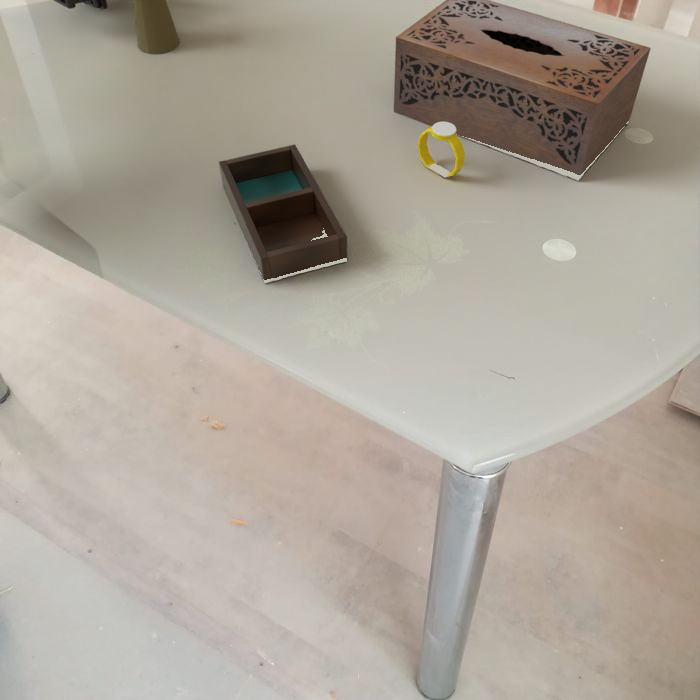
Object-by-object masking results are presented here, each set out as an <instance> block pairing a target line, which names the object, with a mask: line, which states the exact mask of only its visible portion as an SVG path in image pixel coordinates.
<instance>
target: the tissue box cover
mask: <svg viewBox="0 0 700 700" xmlns="http://www.w3.org/2000/svg"><path fill="white" fill-rule="evenodd" d="M394 50H395V52H394V53H395V55H394V58H395V59H394V89H393V90H394V91H393V112H394V113H397V114H399V115H402V116H404V117H407V118H410V119H412V120H415V121H418V122H420V123H423V124H426V125H428V126H430V127H431V126H433V125H434V124H435V123H437V122H449V123H452V124H453V125H454V126H455V127H456V134H457V135H460V136H464V137H467V138H471V139H474V140H476V141H480V142H482V143H485V144H488V145H491V146H494V147H497V148H500V149H503V150H506V151H508V152H509V151H510V152H512V153H516V154H519V155H521V156H524V157H527V158H530V159H535V160H537V161H540V162H543V163H547V164H550V165H552V166H555V167H558V168H562V169H564V170H567V171H570V172H573V173H575V174H577V175H581V174H582V173H583V172H584V171H585V170H586V168H587V167H588V166H589V165H590V164H591V163H592V162H593V161H594V160H595V158H596V157H597V156H598V155H599V154H600V153H601V152H602V151H603V150H604V149H605V147H606V146H607V145H608V144H609V143H610V142H611V141H612V140H613V139H614V137H615V136H616V135H617V134H618V133H619V131H620V130H621V129H622V128H623V127H624V126H625V125H626V123H627V122H628V121H629V122H630V120H631V117H632V113H633V110H634V106H635V103H636V99H637V97H638V93H639V89H640V87H641V83H642V79H643V76H644V73H645V72H644V71H645V68H646V66H647V63H648V58H649V56H650V52H651V47H649V46H646V45H642V44H639V43H635V42H634V41H633V42H632V41H628V40H626V39H622V38H619V37H615V36H612V35H609V34H605V33H602V32H598V31H595V30H593V29H592V30H591V29H589V28H585V27H581V26H578V25H576V24H575V25H574V24H571V23H568V22H564V21H561V20H558V19H554V18H551V17H548V16H544V15H541V14H538V13H534V12H530V11H527V10H523V9H521V8H517V7H513V6H510V5H506V4H503V3H500V2H496V1H493V0H444V1H443V2H441V3H440V4H439V5H438V6H436V7H435V8H434V9H432V10H431V11H429V12H428V13H426V14H425V15H424V16H422V17H421V18H420V19H419V20H417V21H415V22H413V24H412V25H410V26H409V27H407V28H406V29H405V30H404V31H402V32H401V33H399V34H398V35H397V36H396V37H395V49H394ZM460 136H459V137H460Z"/></svg>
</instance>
